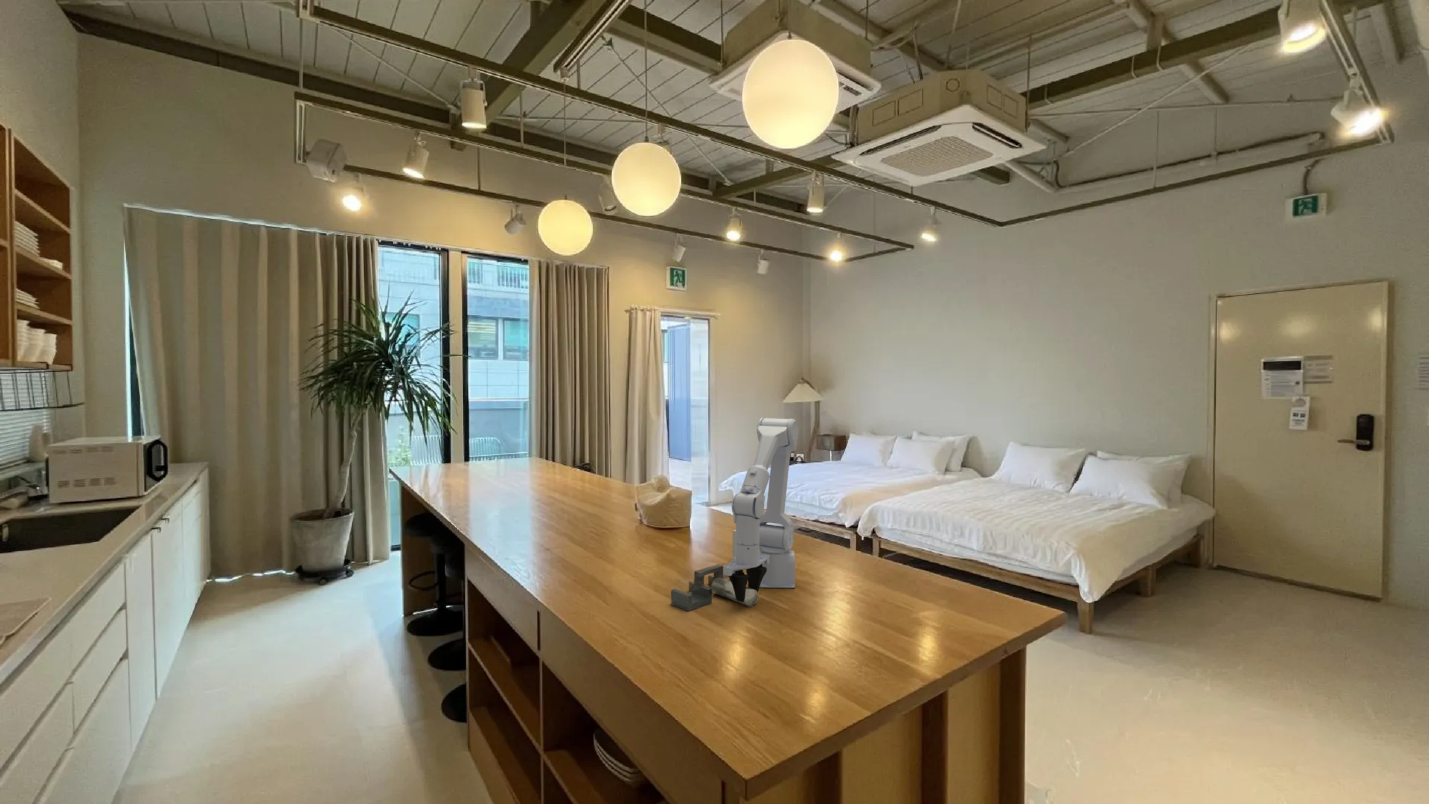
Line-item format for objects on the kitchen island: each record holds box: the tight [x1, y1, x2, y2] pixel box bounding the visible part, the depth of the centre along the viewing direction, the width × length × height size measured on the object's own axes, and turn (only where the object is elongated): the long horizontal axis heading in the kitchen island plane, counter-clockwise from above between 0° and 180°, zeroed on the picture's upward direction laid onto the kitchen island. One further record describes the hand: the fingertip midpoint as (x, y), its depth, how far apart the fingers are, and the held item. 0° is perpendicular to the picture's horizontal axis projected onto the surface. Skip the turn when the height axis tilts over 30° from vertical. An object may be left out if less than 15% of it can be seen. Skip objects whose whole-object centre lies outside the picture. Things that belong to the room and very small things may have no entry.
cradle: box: [670, 583, 713, 612], centre depth 143 cm, size 6×8×4 cm
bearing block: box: [688, 564, 730, 592], centre depth 154 cm, size 6×12×6 cm, turn 135°
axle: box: [710, 577, 759, 608], centre depth 146 cm, size 12×4×4 cm, turn 45°
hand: (746, 598), depth 143 cm, fingers closed on axle, 4 cm apart
